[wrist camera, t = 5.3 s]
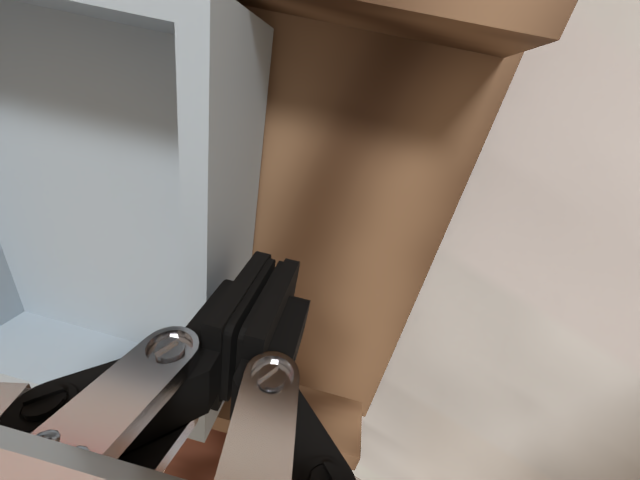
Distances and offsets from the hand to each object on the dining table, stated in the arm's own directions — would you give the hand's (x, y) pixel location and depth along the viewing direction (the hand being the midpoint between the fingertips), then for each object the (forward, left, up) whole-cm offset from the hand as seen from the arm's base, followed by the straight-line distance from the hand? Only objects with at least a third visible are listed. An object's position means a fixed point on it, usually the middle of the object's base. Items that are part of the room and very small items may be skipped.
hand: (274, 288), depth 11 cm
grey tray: (+9, 0, -2) cm, 9 cm away
